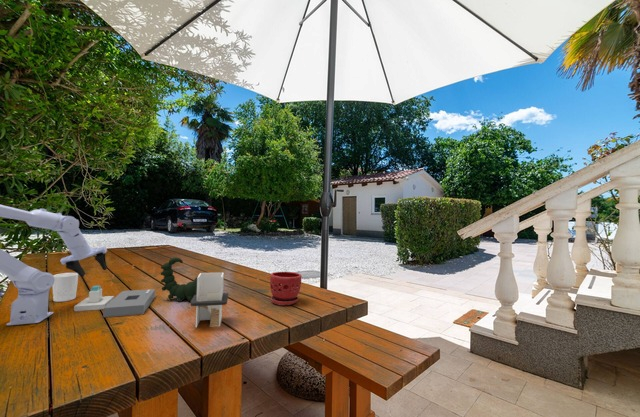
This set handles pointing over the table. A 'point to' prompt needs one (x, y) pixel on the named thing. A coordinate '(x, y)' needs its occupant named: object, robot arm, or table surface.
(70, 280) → the white cup
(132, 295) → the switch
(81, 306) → the square frame
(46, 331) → the table surface
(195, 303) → the white grey toy chair
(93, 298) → the plug
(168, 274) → the toy figurine
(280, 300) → the plant pot
